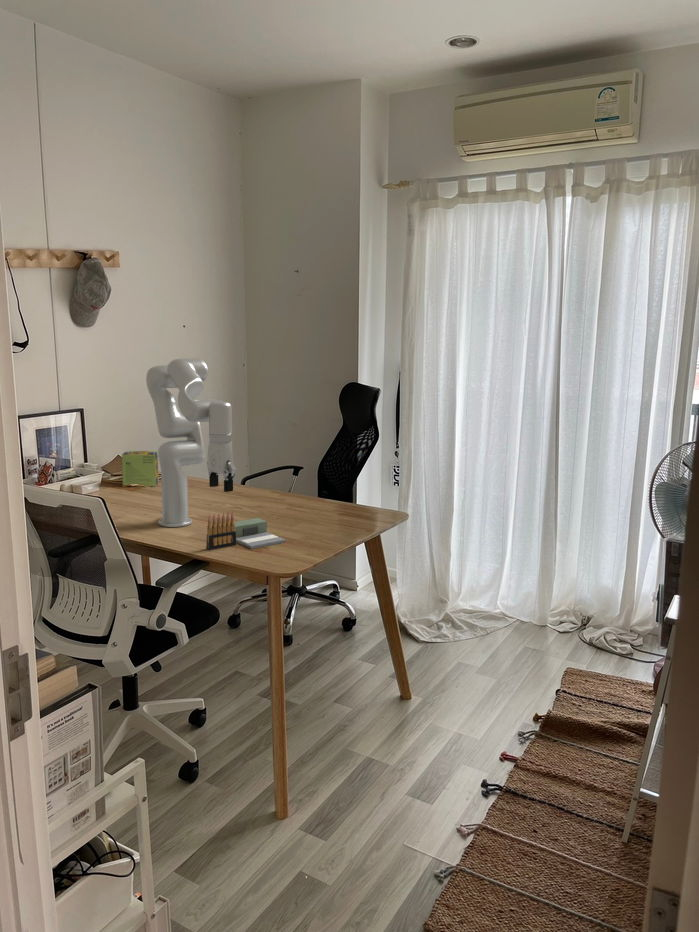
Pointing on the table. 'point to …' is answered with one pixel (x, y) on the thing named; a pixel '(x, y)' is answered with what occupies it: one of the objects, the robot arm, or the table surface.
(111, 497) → the table surface
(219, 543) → the ammunition clip
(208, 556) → the table surface
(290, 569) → the table surface
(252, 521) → the plate with green block
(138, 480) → the protein box
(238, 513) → the table surface
